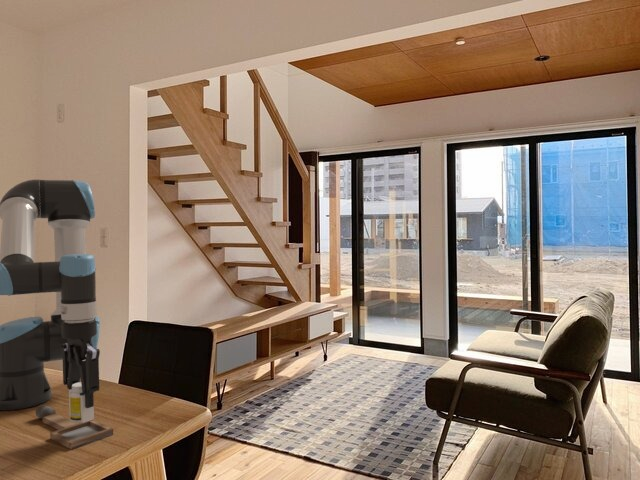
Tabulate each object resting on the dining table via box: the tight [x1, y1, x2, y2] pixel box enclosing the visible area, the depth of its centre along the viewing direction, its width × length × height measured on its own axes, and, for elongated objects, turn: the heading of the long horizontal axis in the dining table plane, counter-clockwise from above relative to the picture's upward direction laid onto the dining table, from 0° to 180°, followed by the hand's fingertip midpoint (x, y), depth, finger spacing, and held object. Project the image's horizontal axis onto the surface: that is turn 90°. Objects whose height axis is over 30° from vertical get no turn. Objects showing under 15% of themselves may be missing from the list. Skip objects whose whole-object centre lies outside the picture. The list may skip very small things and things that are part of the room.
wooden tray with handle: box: [35, 404, 114, 450], centre depth 123 cm, size 26×10×3 cm, turn 53°
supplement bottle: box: [69, 381, 82, 424], centre depth 118 cm, size 5×5×8 cm
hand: (81, 417), depth 118 cm, fingers closed on supplement bottle, 5 cm apart
